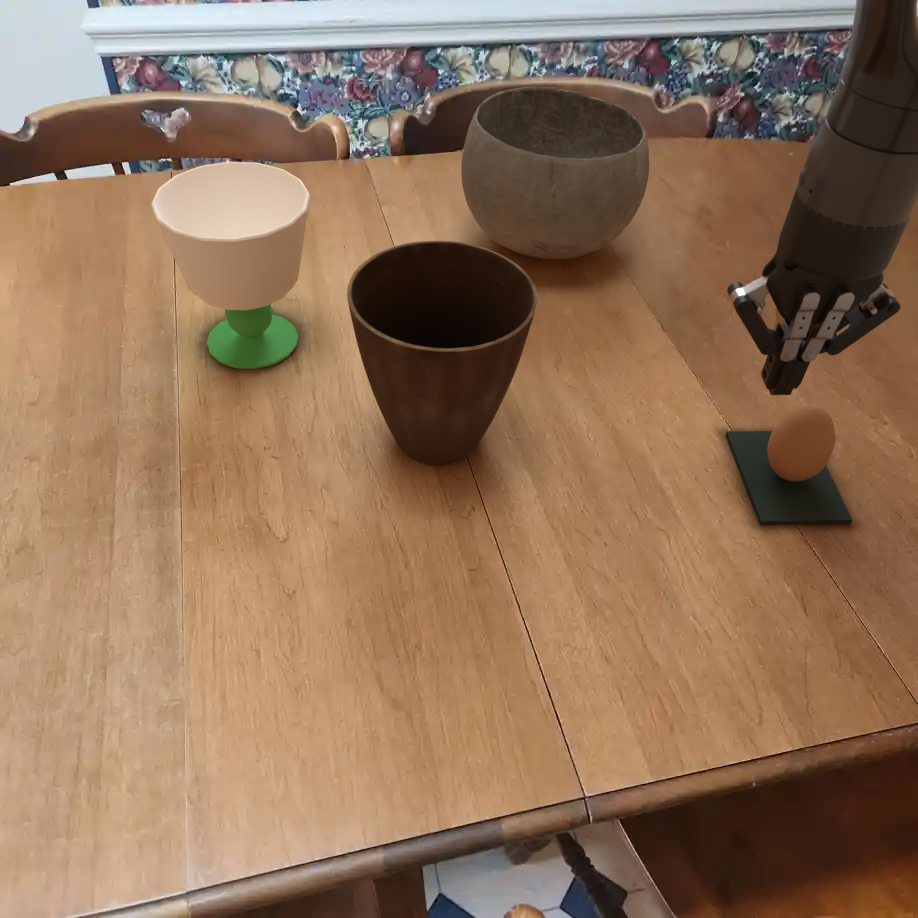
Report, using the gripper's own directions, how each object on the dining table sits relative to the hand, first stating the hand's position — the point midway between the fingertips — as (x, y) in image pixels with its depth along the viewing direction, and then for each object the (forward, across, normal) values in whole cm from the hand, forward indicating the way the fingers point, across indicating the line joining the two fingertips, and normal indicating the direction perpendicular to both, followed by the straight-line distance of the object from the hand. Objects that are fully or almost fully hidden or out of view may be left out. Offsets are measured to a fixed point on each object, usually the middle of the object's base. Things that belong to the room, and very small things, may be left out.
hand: (777, 388), depth 72 cm
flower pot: (+11, -27, +5) cm, 30 cm away
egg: (+10, +4, 0) cm, 11 cm away
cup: (+11, -45, +19) cm, 50 cm away
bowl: (+11, -13, +38) cm, 42 cm away
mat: (+10, +4, 0) cm, 11 cm away
